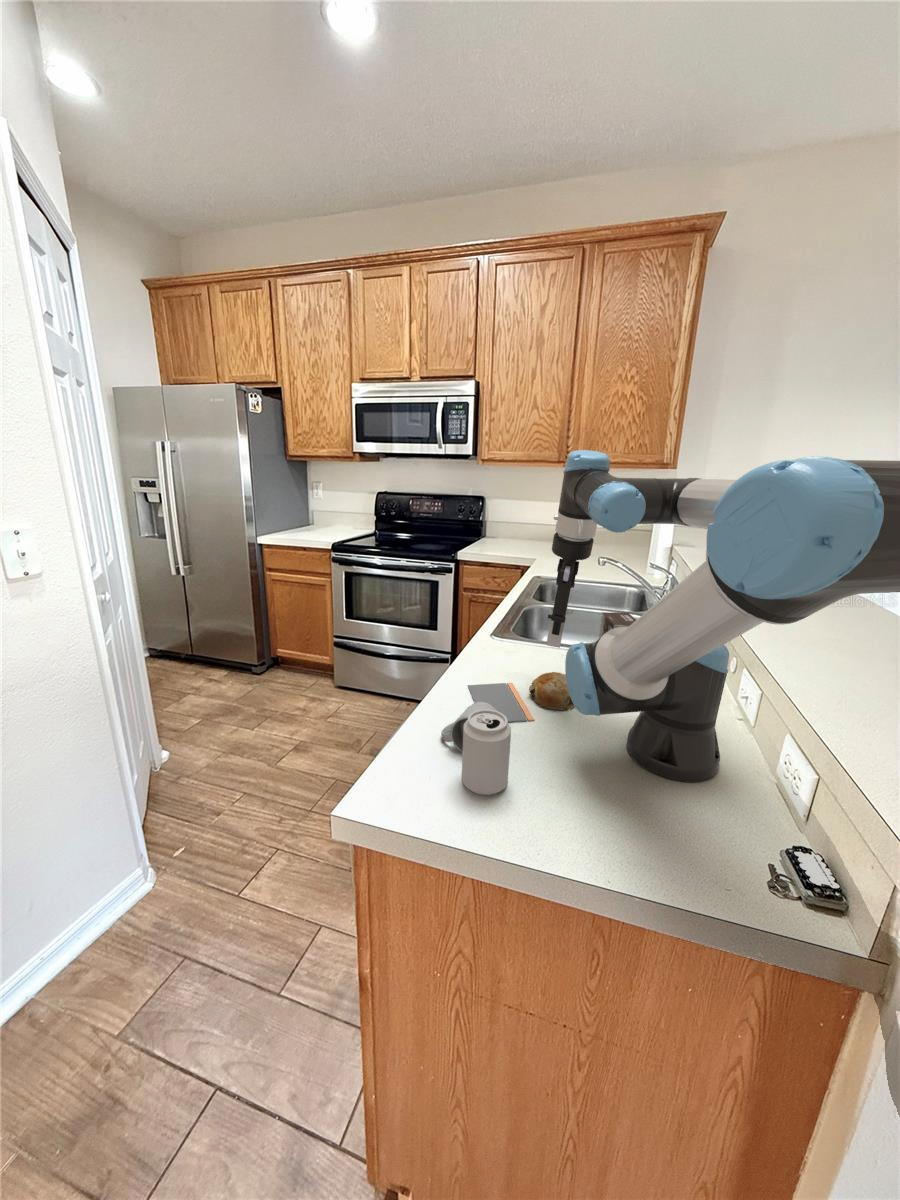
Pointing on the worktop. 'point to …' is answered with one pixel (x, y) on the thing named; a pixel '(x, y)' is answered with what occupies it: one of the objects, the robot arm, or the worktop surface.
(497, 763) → the can
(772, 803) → the worktop surface
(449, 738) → the ceramic mug
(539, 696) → the bread roll
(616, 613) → the coffee box
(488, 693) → the mat
